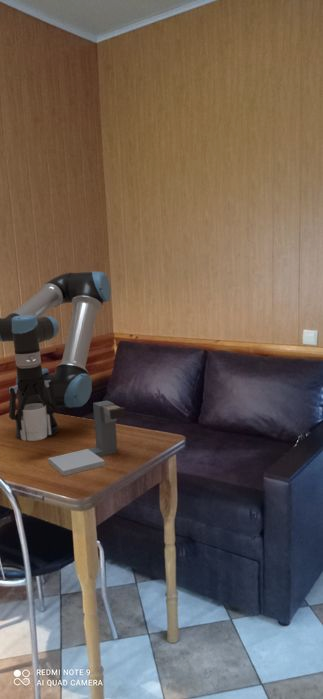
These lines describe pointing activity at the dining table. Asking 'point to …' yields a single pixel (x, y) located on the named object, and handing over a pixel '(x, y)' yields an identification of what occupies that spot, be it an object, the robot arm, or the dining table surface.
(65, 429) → the dining table surface
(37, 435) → the white cup
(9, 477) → the dining table surface
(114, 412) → the handle
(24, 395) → the robot arm
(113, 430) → the frame
